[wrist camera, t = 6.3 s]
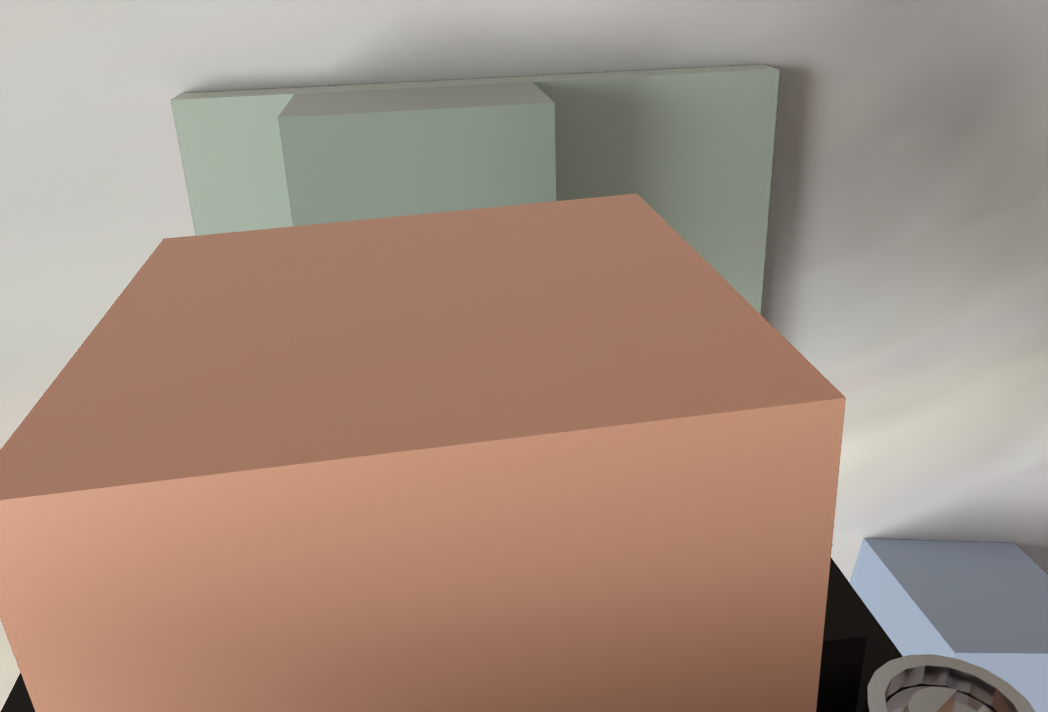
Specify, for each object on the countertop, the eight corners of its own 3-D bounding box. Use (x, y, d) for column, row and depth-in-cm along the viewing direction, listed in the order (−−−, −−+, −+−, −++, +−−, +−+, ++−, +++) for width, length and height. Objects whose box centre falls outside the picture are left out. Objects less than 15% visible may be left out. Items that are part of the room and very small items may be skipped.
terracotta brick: (637, 192, 10) (847, 398, 5) (642, 736, 13) (775, 1146, 9) (163, 238, 9) (-42, 504, 5) (292, 791, 13) (239, 1254, 8)
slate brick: (1011, 540, 28) (1131, 654, 24) (934, 736, 31) (1026, 870, 27) (861, 536, 27) (954, 652, 23) (797, 737, 30) (868, 876, 26)
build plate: (763, 63, 21) (840, 87, 17) (723, 617, 28) (773, 718, 24) (180, 93, 20) (132, 124, 16) (284, 668, 26) (266, 783, 23)
